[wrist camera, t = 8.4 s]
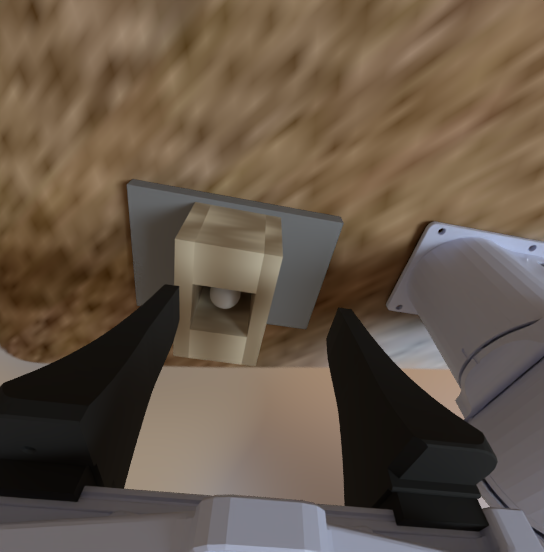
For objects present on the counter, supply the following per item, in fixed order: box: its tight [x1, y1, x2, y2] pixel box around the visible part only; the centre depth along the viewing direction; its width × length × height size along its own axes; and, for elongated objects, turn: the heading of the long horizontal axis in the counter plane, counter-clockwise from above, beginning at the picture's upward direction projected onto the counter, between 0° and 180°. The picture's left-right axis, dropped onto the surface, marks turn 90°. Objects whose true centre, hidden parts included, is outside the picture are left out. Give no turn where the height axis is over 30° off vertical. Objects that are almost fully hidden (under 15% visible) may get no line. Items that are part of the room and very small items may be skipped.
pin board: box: [127, 179, 343, 329], centre depth 21 cm, size 14×10×5 cm
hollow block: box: [173, 202, 283, 366], centre depth 20 cm, size 6×9×5 cm, turn 169°
